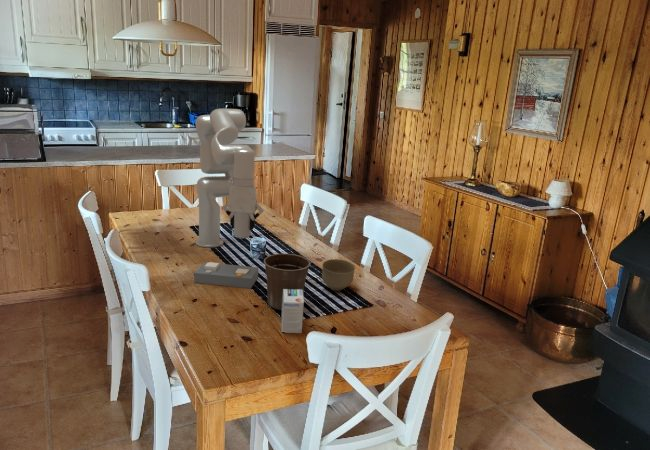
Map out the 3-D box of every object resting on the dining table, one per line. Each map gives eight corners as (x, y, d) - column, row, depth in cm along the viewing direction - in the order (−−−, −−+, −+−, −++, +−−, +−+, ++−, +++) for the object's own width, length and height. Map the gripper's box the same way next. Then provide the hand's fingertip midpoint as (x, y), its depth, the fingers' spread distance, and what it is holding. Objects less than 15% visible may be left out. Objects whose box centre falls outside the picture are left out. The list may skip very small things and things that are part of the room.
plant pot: (316, 303, 190) (319, 261, 186) (289, 318, 177) (291, 273, 173) (281, 290, 199) (283, 250, 194) (252, 304, 186) (254, 261, 181)
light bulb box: (281, 318, 177) (282, 288, 174) (301, 318, 178) (302, 288, 175) (281, 333, 167) (282, 302, 164) (302, 333, 168) (304, 302, 165)
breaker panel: (204, 271, 212) (204, 260, 211) (258, 276, 210) (258, 266, 209) (194, 282, 201) (194, 271, 199) (250, 288, 199) (251, 277, 198)
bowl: (325, 296, 196) (327, 271, 193) (317, 283, 208) (318, 259, 205) (357, 294, 200) (359, 270, 197) (347, 281, 211) (349, 258, 209)
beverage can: (253, 235, 202) (254, 205, 198) (244, 240, 196) (245, 208, 193) (239, 232, 204) (240, 202, 201) (230, 236, 198) (230, 206, 195)
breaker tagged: (238, 276, 207) (238, 268, 206) (248, 277, 207) (249, 269, 206) (234, 280, 203) (235, 272, 202) (246, 281, 202) (246, 273, 202)
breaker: (208, 269, 208) (208, 262, 207) (219, 270, 207) (219, 263, 206) (204, 273, 203) (204, 265, 203) (215, 274, 203) (215, 267, 202)
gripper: (217, 182, 191) (217, 229, 196) (264, 186, 190) (262, 233, 195) (223, 178, 199) (223, 223, 204) (268, 182, 197) (267, 228, 202)
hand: (242, 228), depth 199 cm, fingers closed on beverage can, 6 cm apart
